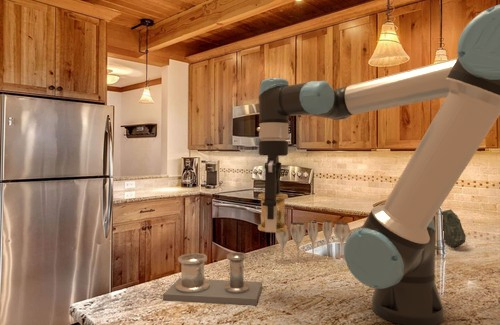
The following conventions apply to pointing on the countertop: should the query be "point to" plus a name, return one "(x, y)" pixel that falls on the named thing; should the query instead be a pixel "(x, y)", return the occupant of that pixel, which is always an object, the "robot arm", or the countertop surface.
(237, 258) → the narrow pipe stub
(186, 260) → the wide pipe stub
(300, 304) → the countertop surface
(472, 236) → the countertop surface
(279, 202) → the gold flared knob
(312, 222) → the goblet set
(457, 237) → the rock
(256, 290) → the plate
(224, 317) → the countertop surface
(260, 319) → the countertop surface
